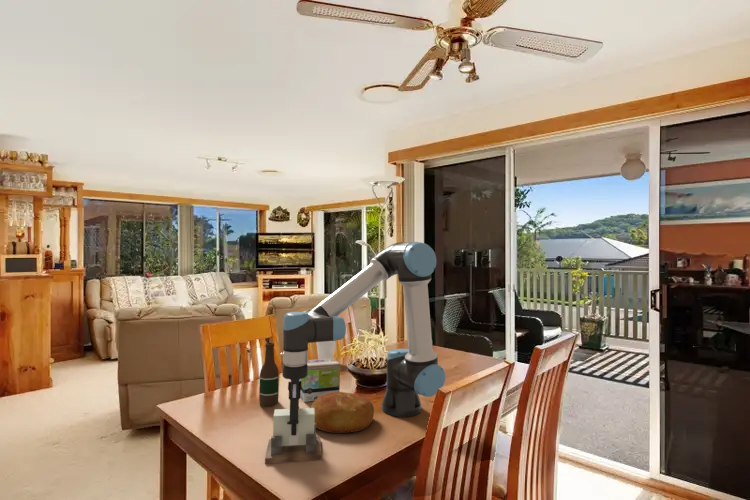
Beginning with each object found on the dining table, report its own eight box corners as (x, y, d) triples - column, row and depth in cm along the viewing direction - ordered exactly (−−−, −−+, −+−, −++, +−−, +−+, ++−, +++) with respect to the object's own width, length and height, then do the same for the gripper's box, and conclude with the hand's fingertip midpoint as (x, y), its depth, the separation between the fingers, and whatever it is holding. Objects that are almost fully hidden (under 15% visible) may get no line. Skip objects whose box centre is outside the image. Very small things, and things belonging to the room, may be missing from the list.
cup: (315, 360, 228) (315, 331, 228) (336, 359, 229) (336, 331, 229) (314, 366, 216) (314, 335, 216) (336, 365, 217) (337, 335, 217)
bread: (353, 406, 162) (353, 380, 162) (386, 428, 142) (386, 399, 142) (298, 418, 150) (299, 390, 150) (326, 444, 130) (327, 412, 130)
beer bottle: (273, 408, 158) (274, 345, 158) (255, 406, 160) (256, 344, 160) (282, 400, 166) (283, 341, 166) (264, 399, 168) (265, 340, 168)
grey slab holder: (320, 440, 132) (320, 420, 132) (321, 459, 120) (321, 437, 120) (268, 444, 129) (269, 423, 129) (265, 463, 117) (265, 441, 117)
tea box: (303, 403, 164) (304, 366, 164) (299, 394, 173) (299, 359, 173) (340, 398, 169) (340, 362, 169) (333, 390, 179) (333, 357, 179)
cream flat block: (313, 436, 128) (314, 407, 128) (313, 444, 123) (314, 414, 123) (274, 438, 126) (274, 409, 126) (272, 446, 121) (273, 416, 121)
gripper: (284, 356, 133) (282, 428, 133) (280, 372, 115) (279, 455, 115) (307, 355, 134) (306, 426, 134) (307, 371, 116) (306, 454, 116)
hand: (293, 440), depth 124 cm, fingers closed on cream flat block, 5 cm apart
